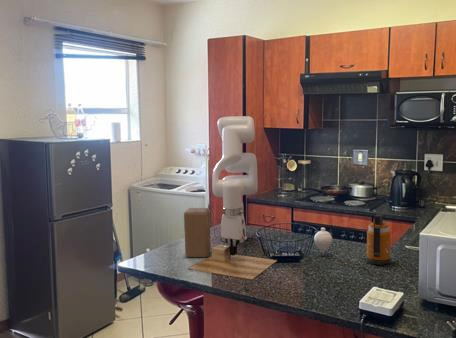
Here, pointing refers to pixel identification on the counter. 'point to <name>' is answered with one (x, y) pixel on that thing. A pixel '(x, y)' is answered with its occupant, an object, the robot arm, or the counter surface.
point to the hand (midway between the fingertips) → (233, 254)
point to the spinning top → (323, 240)
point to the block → (197, 232)
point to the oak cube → (220, 253)
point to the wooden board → (235, 266)
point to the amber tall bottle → (378, 241)
